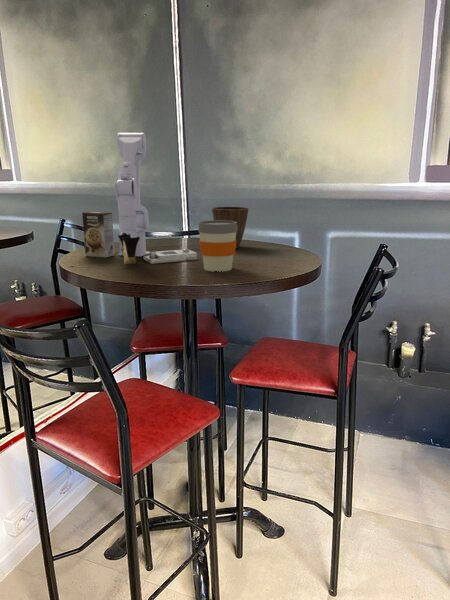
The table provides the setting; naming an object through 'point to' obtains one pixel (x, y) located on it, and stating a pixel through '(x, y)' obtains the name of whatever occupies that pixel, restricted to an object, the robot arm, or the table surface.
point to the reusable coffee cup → (217, 244)
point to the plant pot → (232, 218)
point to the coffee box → (98, 234)
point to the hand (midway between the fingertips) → (129, 256)
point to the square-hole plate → (170, 256)
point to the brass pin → (126, 259)
